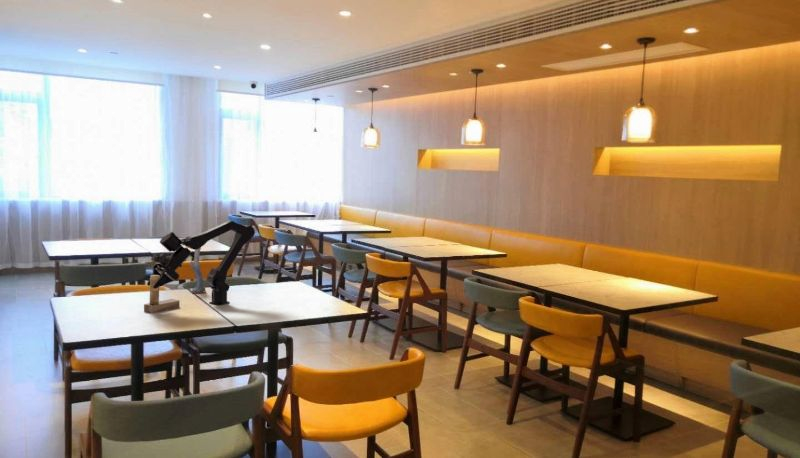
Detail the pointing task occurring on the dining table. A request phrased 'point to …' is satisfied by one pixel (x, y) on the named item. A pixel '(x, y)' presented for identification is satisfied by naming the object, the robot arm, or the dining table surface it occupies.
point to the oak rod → (154, 290)
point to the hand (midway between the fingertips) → (150, 286)
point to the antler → (197, 273)
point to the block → (161, 306)
